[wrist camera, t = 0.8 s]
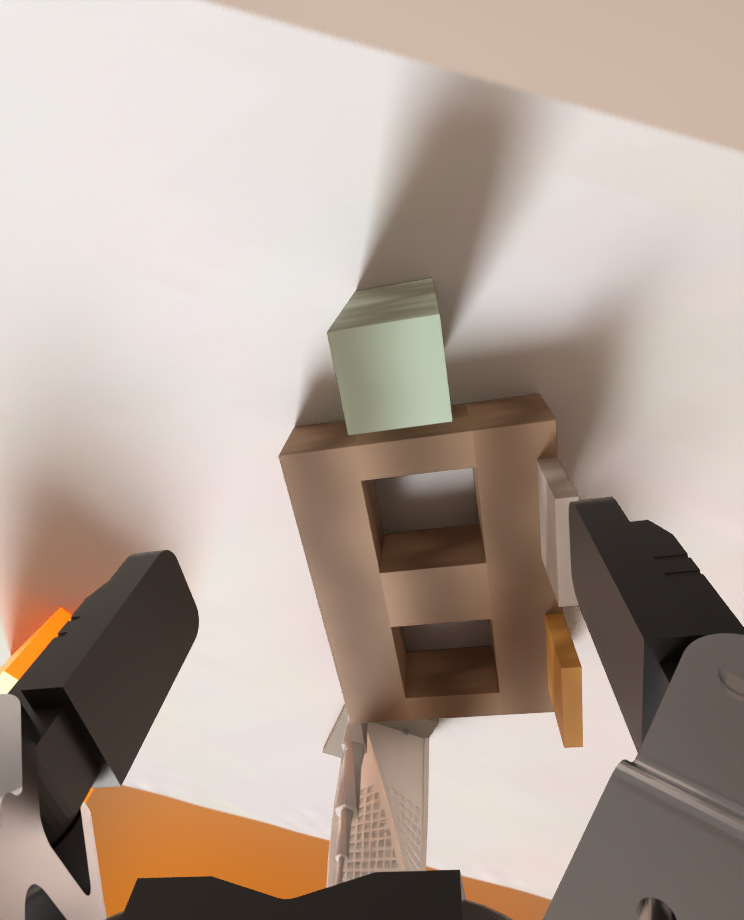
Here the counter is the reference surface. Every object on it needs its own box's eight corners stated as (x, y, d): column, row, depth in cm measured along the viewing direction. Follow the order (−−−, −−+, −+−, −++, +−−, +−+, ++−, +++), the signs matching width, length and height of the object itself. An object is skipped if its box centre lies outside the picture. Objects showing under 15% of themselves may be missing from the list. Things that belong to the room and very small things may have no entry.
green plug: (432, 277, 28) (439, 313, 19) (441, 353, 29) (452, 421, 20) (355, 290, 28) (326, 332, 19) (369, 365, 30) (348, 435, 21)
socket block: (539, 393, 30) (578, 454, 23) (551, 663, 38) (583, 770, 31) (294, 427, 32) (258, 493, 25) (356, 676, 40) (343, 780, 33)
